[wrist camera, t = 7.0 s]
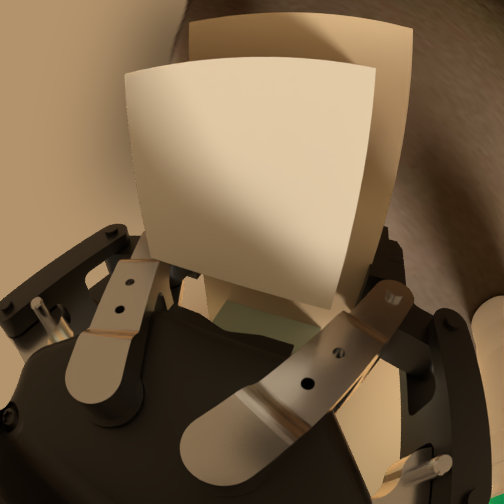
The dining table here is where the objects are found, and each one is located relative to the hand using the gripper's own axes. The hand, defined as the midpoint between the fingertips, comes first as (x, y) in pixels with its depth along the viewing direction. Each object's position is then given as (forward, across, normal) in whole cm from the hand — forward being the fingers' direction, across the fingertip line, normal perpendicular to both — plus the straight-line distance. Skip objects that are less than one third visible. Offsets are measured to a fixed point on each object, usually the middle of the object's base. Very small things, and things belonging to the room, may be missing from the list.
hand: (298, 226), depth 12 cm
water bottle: (+15, -24, +13) cm, 31 cm away
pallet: (+1, 0, 0) cm, 1 cm away
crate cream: (-3, 0, -4) cm, 5 cm away
